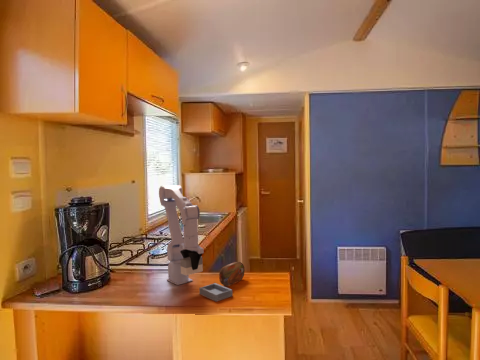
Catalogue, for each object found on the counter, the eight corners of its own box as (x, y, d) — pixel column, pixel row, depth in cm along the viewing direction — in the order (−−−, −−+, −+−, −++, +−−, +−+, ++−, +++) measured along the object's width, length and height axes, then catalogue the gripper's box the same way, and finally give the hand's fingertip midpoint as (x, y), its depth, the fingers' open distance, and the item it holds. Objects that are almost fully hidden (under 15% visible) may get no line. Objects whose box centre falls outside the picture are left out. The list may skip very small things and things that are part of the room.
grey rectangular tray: (199, 294, 139) (199, 287, 139) (215, 288, 145) (215, 283, 145) (216, 301, 131) (216, 295, 131) (232, 295, 136) (232, 289, 136)
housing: (180, 273, 142) (180, 258, 141) (197, 269, 147) (196, 255, 147) (186, 275, 139) (185, 260, 138) (202, 271, 144) (202, 256, 144)
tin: (223, 288, 145) (223, 268, 145) (218, 287, 147) (217, 267, 147) (245, 278, 157) (244, 260, 157) (239, 277, 159) (239, 259, 159)
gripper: (173, 234, 145) (174, 266, 146) (192, 239, 134) (193, 274, 135) (187, 231, 150) (188, 263, 150) (207, 236, 139) (208, 270, 139)
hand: (191, 268), depth 143 cm, fingers closed on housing, 4 cm apart
